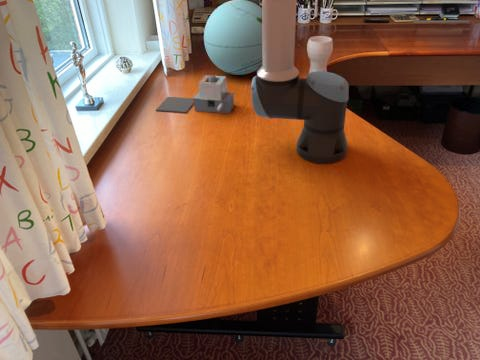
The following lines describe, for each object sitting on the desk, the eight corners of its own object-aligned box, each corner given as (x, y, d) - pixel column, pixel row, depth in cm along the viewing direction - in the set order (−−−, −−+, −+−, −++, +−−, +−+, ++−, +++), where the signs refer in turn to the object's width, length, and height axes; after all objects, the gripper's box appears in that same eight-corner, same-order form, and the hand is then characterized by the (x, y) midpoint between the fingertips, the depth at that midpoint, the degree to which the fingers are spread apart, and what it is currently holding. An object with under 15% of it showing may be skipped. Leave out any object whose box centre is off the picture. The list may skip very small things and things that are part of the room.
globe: (263, 88, 164) (263, 10, 146) (196, 81, 172) (188, 7, 155) (281, 64, 187) (283, -6, 169) (221, 59, 195) (216, -8, 178)
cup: (330, 79, 169) (333, 43, 160) (304, 78, 171) (306, 42, 162) (330, 70, 177) (333, 35, 169) (306, 69, 179) (308, 35, 171)
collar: (221, 100, 143) (220, 84, 140) (199, 99, 145) (198, 83, 141) (226, 91, 149) (226, 76, 146) (206, 90, 151) (205, 75, 148)
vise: (226, 118, 142) (224, 86, 135) (190, 116, 145) (187, 84, 138) (233, 105, 151) (232, 74, 144) (200, 103, 154) (197, 72, 147)
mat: (186, 113, 147) (186, 111, 147) (155, 111, 149) (155, 109, 149) (196, 100, 156) (196, 98, 156) (167, 98, 159) (167, 96, 159)
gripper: (339, -53, 135) (332, 14, 147) (266, -52, 141) (266, 12, 154) (336, -50, 129) (330, 19, 141) (261, -50, 136) (261, 16, 148)
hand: (297, 15), depth 147 cm, fingers open, 13 cm apart
